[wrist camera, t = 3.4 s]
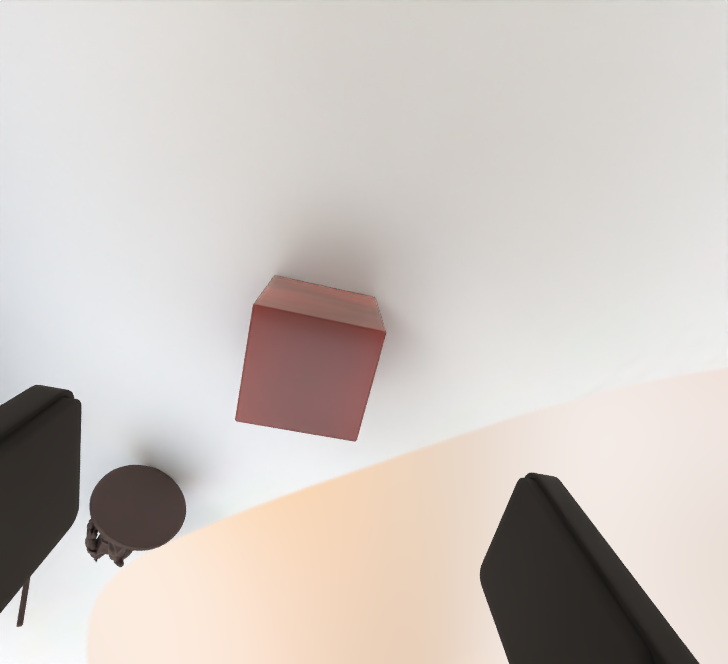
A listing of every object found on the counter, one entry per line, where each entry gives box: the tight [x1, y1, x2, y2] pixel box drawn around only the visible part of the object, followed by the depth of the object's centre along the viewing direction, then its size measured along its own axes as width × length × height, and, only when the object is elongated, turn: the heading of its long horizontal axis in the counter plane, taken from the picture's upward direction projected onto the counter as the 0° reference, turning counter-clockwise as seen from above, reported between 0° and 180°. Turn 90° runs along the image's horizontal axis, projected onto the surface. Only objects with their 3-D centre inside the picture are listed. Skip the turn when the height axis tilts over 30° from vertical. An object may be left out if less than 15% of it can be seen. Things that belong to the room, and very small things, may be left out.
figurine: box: [17, 465, 186, 627], centre depth 16 cm, size 5×8×4 cm
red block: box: [235, 276, 386, 441], centre depth 14 cm, size 4×4×4 cm
